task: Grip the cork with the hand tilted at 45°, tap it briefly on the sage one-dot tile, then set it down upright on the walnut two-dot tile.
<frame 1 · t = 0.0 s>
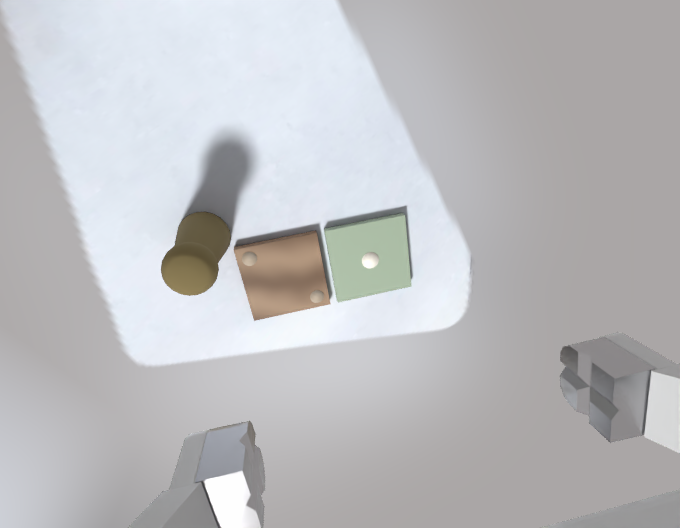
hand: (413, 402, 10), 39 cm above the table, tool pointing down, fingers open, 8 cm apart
cork: (204, 235, 47), on the table
tile two: (284, 274, 51), on the table
tile one: (368, 257, 52), on the table
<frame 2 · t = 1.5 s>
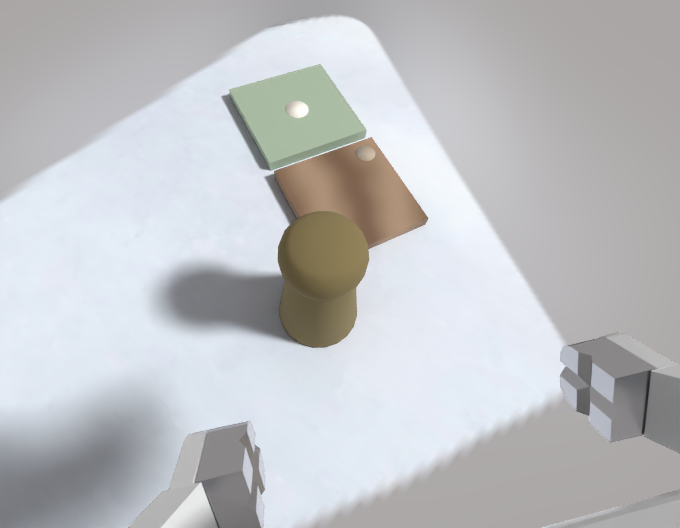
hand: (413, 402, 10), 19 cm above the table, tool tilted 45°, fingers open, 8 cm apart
cork: (318, 310, 31), on the table
tile two: (349, 201, 36), on the table
tile one: (297, 117, 40), on the table
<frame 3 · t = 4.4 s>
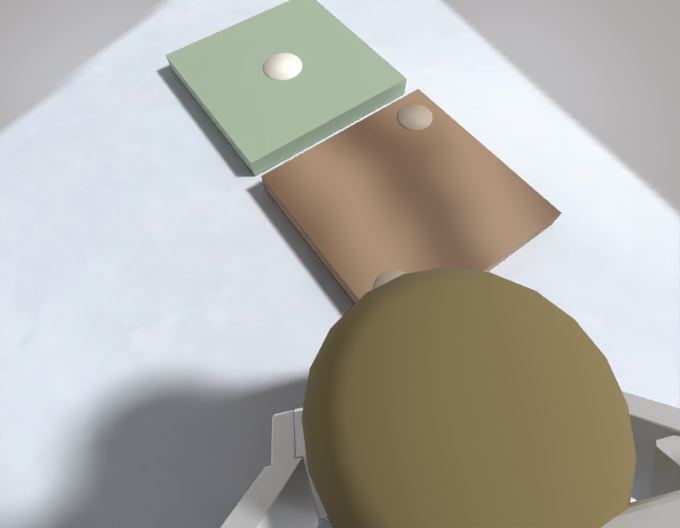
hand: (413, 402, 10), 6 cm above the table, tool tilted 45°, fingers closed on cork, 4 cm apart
cork: (395, 439, 15), on the table, touching gripper
tile two: (403, 206, 20), on the table
tile one: (285, 81, 24), on the table
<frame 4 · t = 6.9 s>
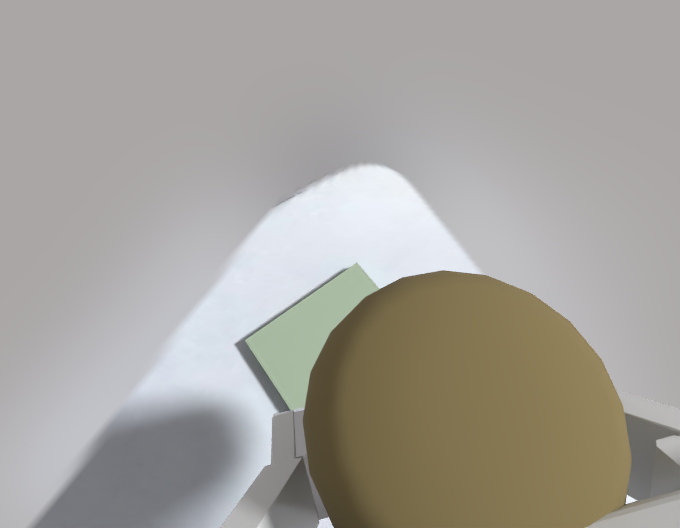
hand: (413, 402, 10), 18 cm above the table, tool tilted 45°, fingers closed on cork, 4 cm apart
cork: (396, 440, 16), point 12 cm above the table, touching gripper
tile one: (344, 357, 29), on the table
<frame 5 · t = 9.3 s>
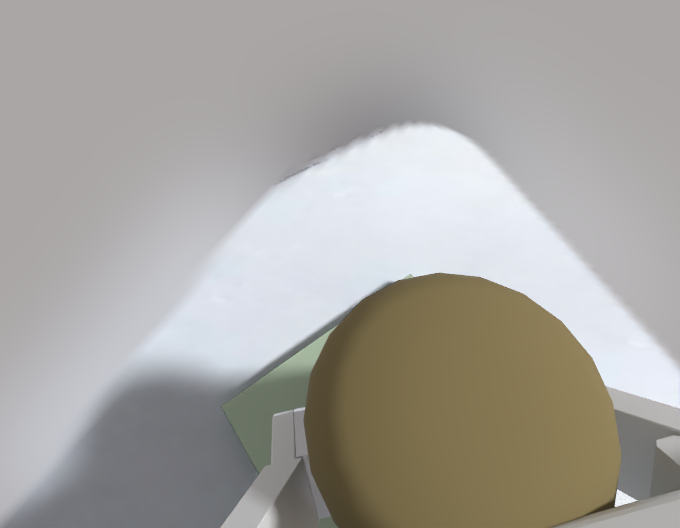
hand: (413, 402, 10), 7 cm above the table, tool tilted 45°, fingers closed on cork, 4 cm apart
cork: (394, 439, 16), point 1 cm above the table, touching gripper
tile one: (392, 437, 17), on the table
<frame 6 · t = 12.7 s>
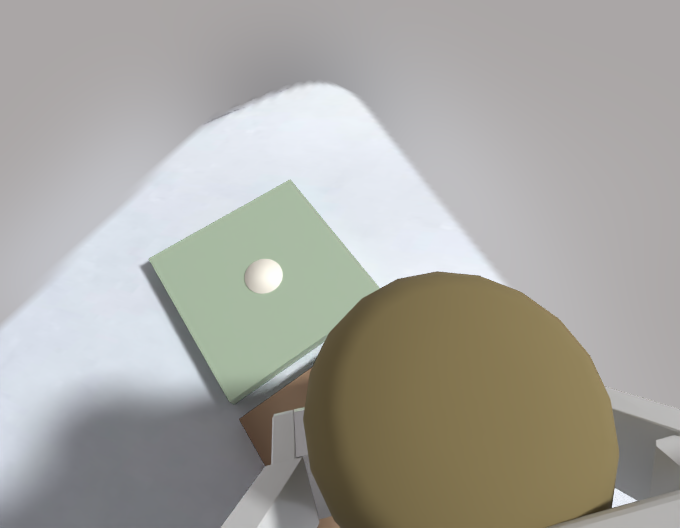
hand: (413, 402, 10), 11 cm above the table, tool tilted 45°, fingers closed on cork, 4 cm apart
cork: (394, 438, 16), point 5 cm above the table, touching gripper
tile two: (379, 445, 20), on the table
tile one: (266, 282, 24), on the table
when the fingers open (8 cm above the table, at t = 14.3 s): cork moves 2 cm, resting on tile two.
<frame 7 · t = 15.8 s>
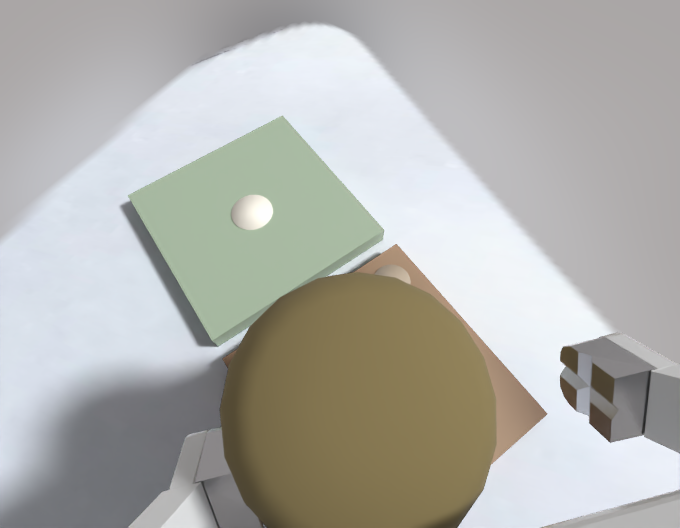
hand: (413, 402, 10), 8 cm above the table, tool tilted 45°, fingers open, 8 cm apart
cork: (328, 400, 17), point 1 cm above the table, touching gripper, tile two
tile two: (377, 389, 18), on the table
tile one: (256, 222, 22), on the table
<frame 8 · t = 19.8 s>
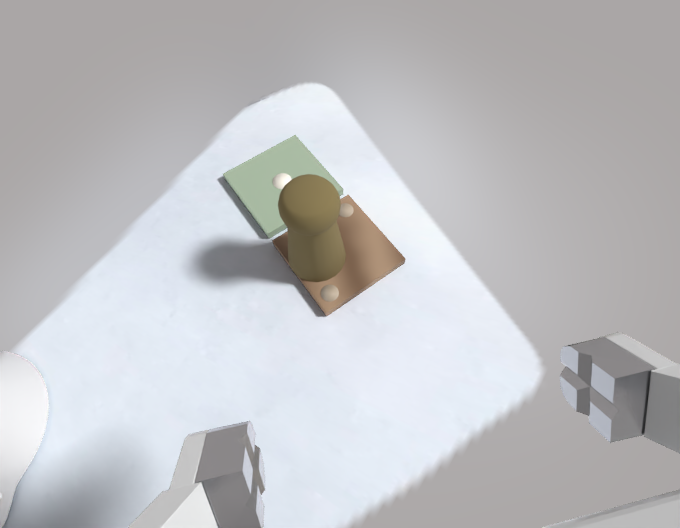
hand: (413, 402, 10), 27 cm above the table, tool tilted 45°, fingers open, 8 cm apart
cork: (317, 256, 42), point 1 cm above the table, touching tile two
tile two: (338, 254, 43), on the table
tile one: (283, 186, 47), on the table
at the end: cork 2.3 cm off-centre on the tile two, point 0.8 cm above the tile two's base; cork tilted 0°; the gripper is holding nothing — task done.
